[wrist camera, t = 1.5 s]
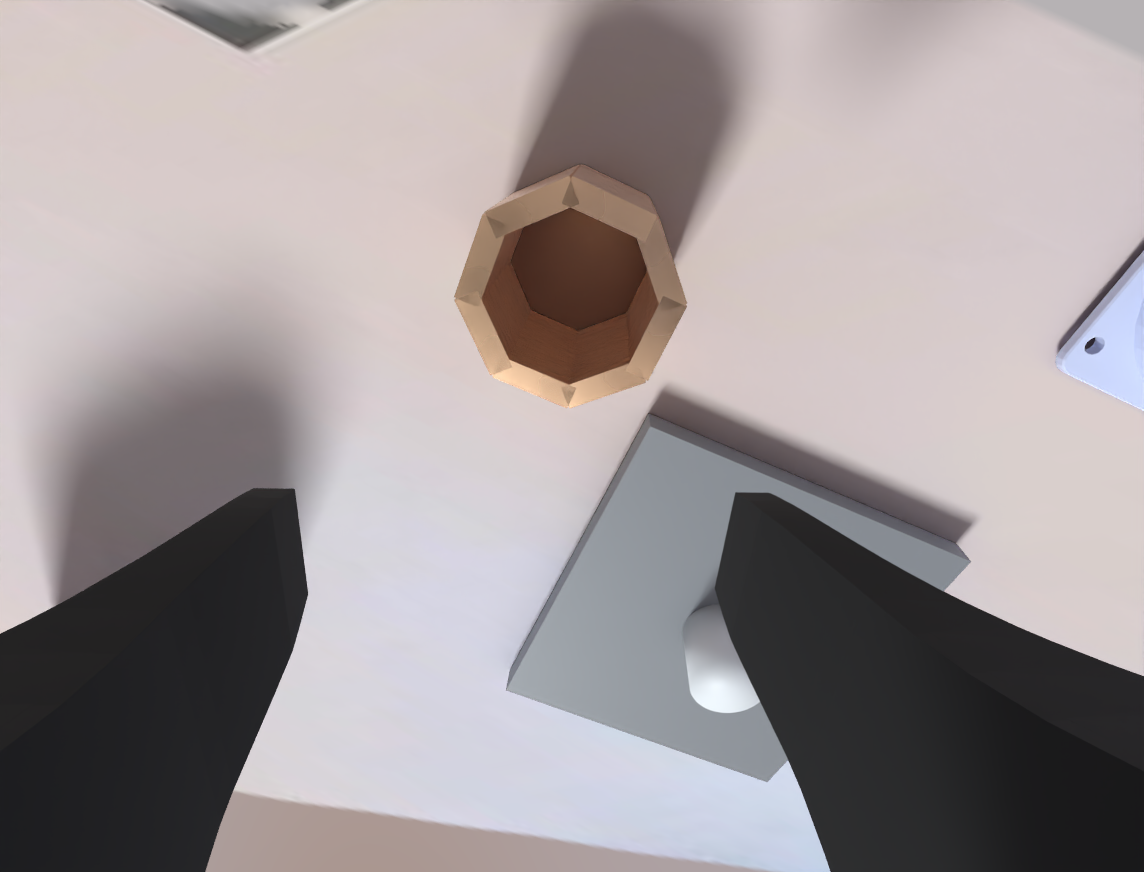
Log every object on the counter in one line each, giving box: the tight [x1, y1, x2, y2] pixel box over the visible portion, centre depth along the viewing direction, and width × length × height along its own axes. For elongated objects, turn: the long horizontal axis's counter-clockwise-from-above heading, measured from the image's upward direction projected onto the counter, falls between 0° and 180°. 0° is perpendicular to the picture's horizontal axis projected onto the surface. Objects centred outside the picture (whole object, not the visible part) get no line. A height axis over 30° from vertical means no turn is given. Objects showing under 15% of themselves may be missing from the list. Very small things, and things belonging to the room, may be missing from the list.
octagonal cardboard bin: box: [454, 164, 687, 408], centre depth 16 cm, size 5×5×4 cm
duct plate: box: [506, 414, 971, 782], centre depth 22 cm, size 13×12×4 cm
